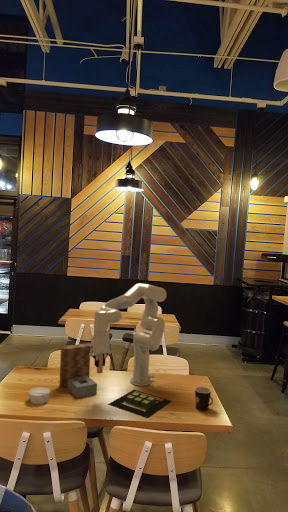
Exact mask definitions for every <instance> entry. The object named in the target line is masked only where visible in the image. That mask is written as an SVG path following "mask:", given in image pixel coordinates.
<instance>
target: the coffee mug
mask: <svg viewBox="0 0 288 512" xmlns="http://www.w3.org/2000/svg"><path fill="white" fill-rule="evenodd" d="M211 393H212V389H211V388H209V387H205V386H196V387H195V388H194V395H195V396H194V397H195V409H196V410H197V411H202V412H206V411H208V410H209V406H211V405H212V404H213V402H214V400H213V397H212V396H211ZM210 400H211V402H210Z"/></svg>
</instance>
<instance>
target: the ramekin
mask: <svg viewBox="0 0 288 512" xmlns="http://www.w3.org/2000/svg"><path fill="white" fill-rule="evenodd" d="M50 394H51V389H50V388H48V387H45V386H37V387H33V388H31V389H30V390H28V397H29V402H30V403H31V404H34V405H43V404H45V403H47V402H48V401H49V400H50Z"/></svg>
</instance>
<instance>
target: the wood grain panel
mask: <svg viewBox="0 0 288 512" xmlns="http://www.w3.org/2000/svg"><path fill="white" fill-rule="evenodd" d="M90 347H91V342H90V343H89V342H86V343H79V344H71V345H69V344H68V345H62V346H60V359H59V360H60V361H59V385H58V386H59V388H61V389H63V388H67V386H68V379H69V378H75V377H81V376H88V377H89V378H90V365H91V364H90V363H91V356H89V353H90Z"/></svg>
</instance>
